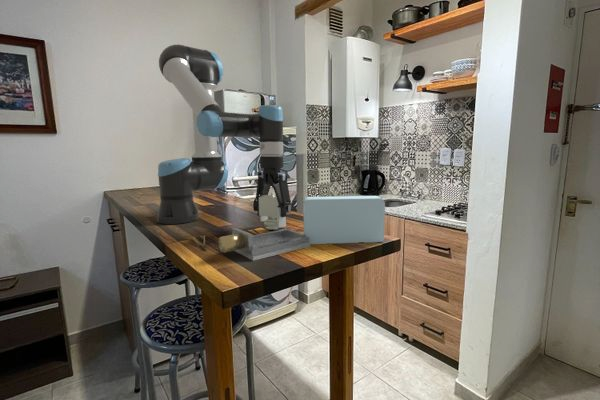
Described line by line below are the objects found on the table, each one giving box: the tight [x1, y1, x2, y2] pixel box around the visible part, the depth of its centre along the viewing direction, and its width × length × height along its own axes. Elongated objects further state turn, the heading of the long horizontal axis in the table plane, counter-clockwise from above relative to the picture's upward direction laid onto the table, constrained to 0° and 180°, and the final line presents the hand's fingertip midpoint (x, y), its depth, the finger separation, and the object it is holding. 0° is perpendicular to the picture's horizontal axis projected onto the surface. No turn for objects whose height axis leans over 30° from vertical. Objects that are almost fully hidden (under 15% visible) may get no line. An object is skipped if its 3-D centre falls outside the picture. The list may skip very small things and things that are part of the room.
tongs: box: [190, 234, 208, 252], centre depth 93 cm, size 4×13×2 cm, turn 31°
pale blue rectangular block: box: [302, 195, 386, 245], centre depth 94 cm, size 23×6×13 cm, turn 91°
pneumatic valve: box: [252, 192, 292, 231], centre depth 108 cm, size 6×12×12 cm, turn 78°
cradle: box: [218, 227, 311, 261], centre depth 88 cm, size 23×13×6 cm, turn 128°
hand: (272, 223), depth 108 cm, fingers closed on pneumatic valve, 10 cm apart
